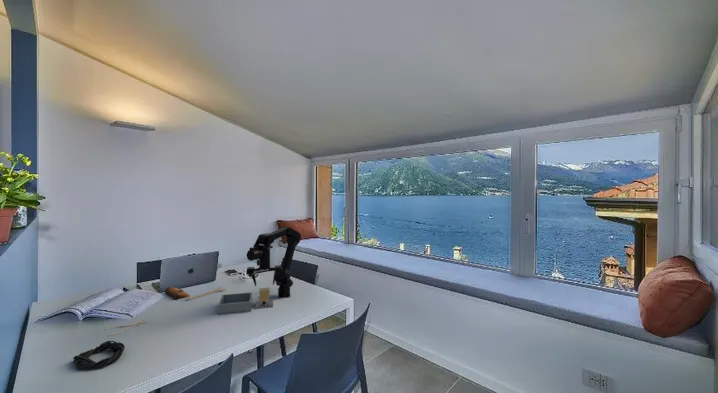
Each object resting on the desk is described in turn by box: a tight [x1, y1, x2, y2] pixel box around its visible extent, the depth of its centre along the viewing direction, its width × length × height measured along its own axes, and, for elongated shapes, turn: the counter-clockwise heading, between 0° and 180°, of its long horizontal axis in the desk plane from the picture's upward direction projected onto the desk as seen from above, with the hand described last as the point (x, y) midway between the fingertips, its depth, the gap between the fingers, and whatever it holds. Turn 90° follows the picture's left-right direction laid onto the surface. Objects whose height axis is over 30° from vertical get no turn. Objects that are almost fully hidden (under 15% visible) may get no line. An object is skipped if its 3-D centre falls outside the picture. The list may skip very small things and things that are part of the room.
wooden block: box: [258, 287, 270, 302], centre depth 165 cm, size 5×5×6 cm
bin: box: [217, 292, 253, 316], centre depth 161 cm, size 16×16×5 cm
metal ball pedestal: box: [255, 299, 274, 309], centre depth 165 cm, size 9×9×8 cm
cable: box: [73, 340, 126, 370], centre depth 110 cm, size 17×14×4 cm
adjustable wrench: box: [184, 286, 228, 302], centre depth 181 cm, size 25×6×2 cm, turn 144°
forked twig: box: [104, 318, 149, 337], centre depth 136 cm, size 10×2×15 cm
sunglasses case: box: [164, 286, 191, 301], centre depth 179 cm, size 18×7×7 cm
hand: (264, 285), depth 165 cm, fingers open, 9 cm apart
